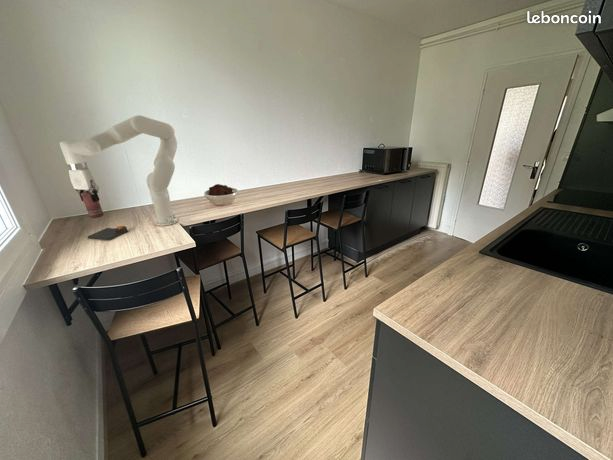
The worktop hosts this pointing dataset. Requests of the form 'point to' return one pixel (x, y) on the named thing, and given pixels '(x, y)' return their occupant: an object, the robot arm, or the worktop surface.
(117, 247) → the worktop surface
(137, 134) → the robot arm
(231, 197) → the filled cream bowl
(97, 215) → the can
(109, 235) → the scale
